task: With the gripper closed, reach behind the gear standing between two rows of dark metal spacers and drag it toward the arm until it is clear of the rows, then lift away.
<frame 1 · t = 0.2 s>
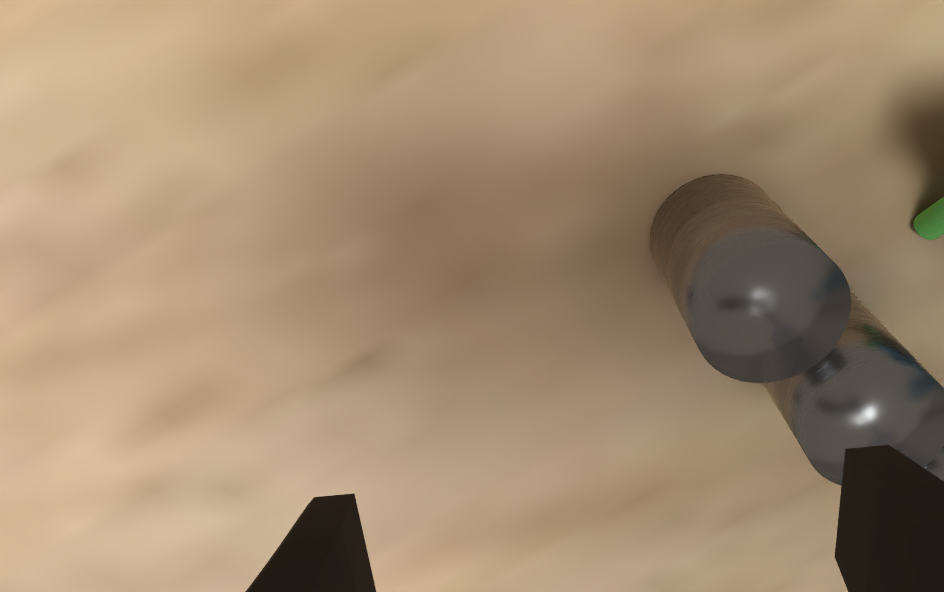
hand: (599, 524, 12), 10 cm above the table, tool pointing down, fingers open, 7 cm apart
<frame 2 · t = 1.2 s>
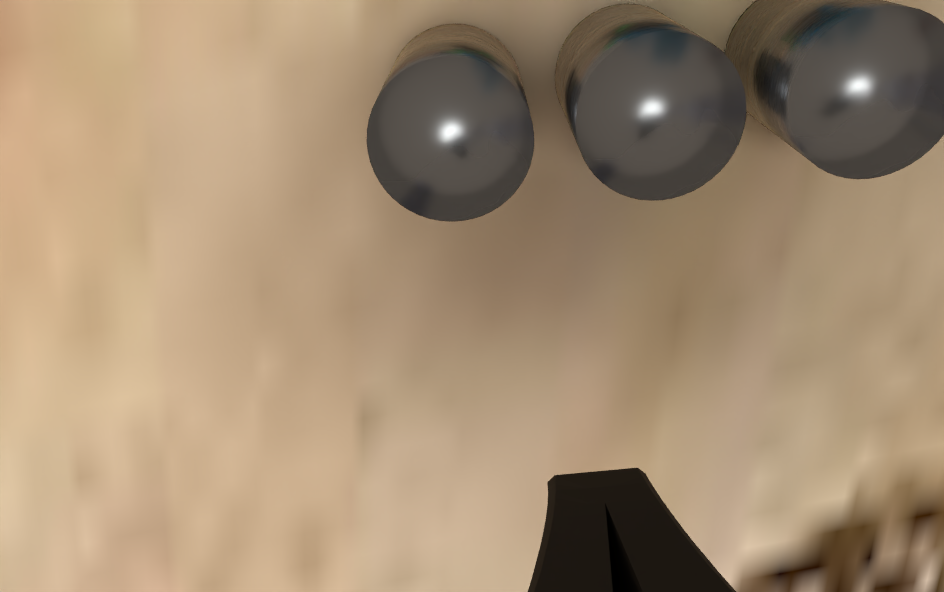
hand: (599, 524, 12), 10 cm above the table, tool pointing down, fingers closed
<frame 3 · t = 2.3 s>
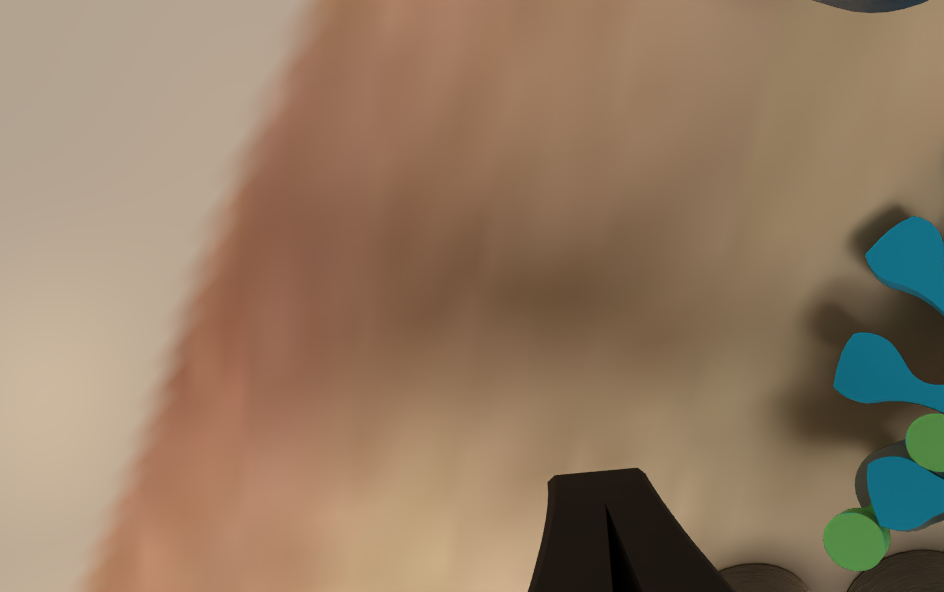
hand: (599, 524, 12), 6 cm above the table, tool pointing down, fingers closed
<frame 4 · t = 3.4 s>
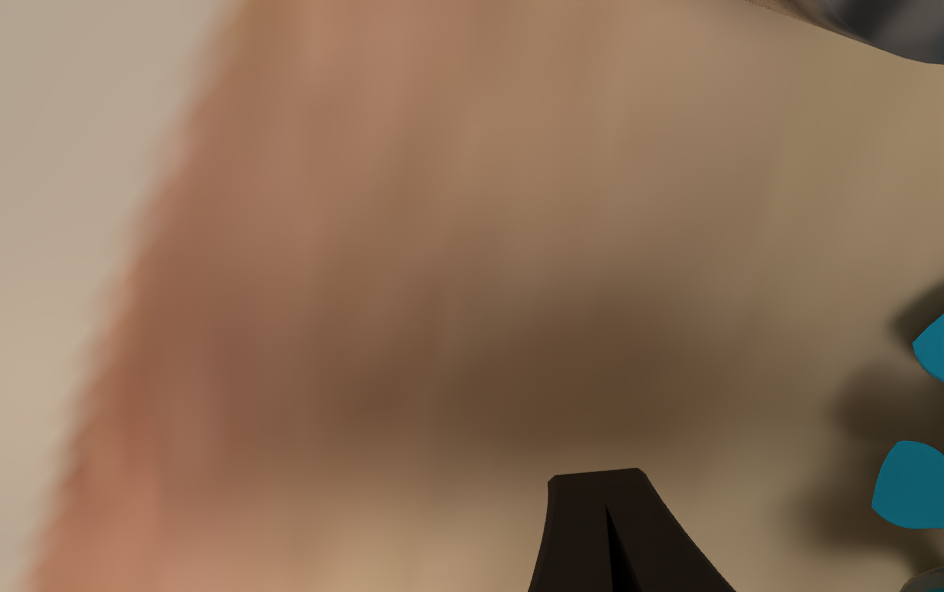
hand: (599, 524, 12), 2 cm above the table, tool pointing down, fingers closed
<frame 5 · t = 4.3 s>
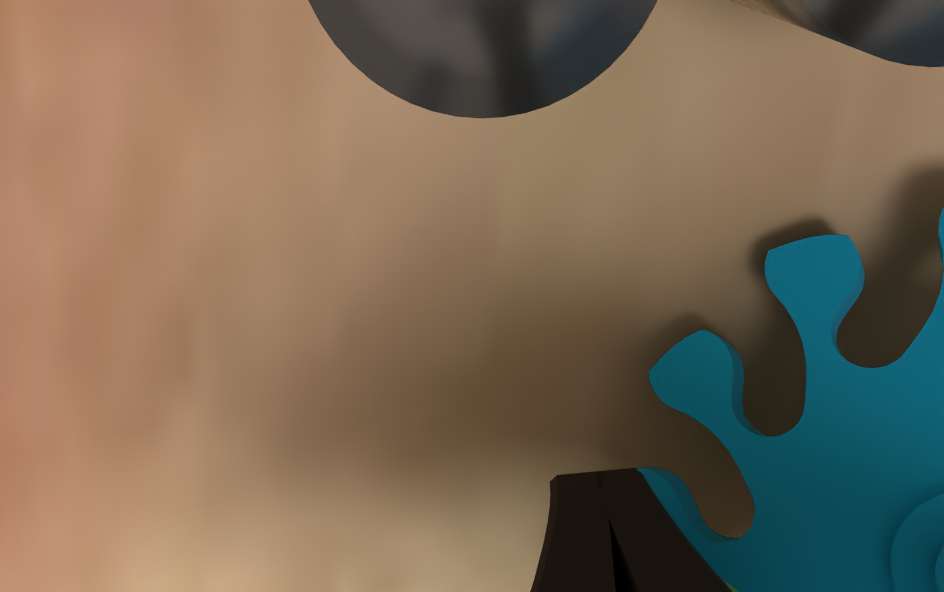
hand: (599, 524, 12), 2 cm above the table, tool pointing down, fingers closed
spacer field: (763, 413, 14), on the table
gear: (826, 417, 15), on the table, touching gripper
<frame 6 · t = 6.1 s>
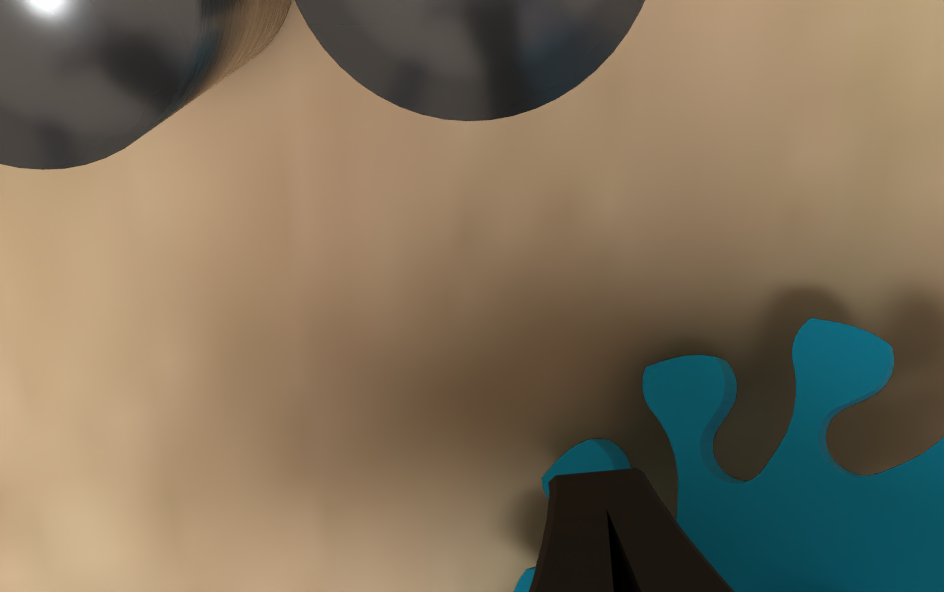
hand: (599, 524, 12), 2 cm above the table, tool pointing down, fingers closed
spacer field: (301, 457, 15), on the table
gear: (723, 506, 15), on the table, touching gripper
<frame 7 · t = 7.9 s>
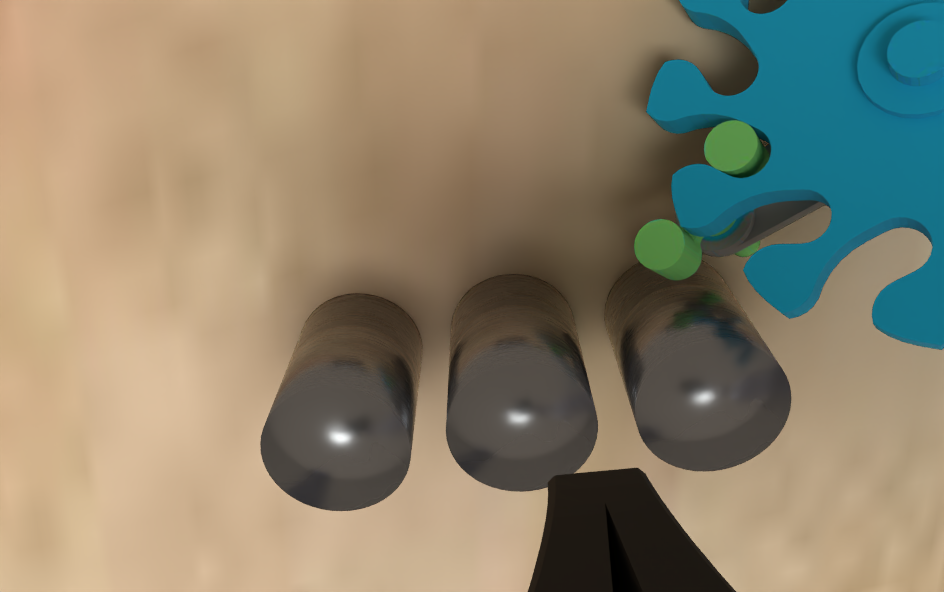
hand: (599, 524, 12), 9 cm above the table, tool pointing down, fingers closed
gear: (814, 55, 19), on the table
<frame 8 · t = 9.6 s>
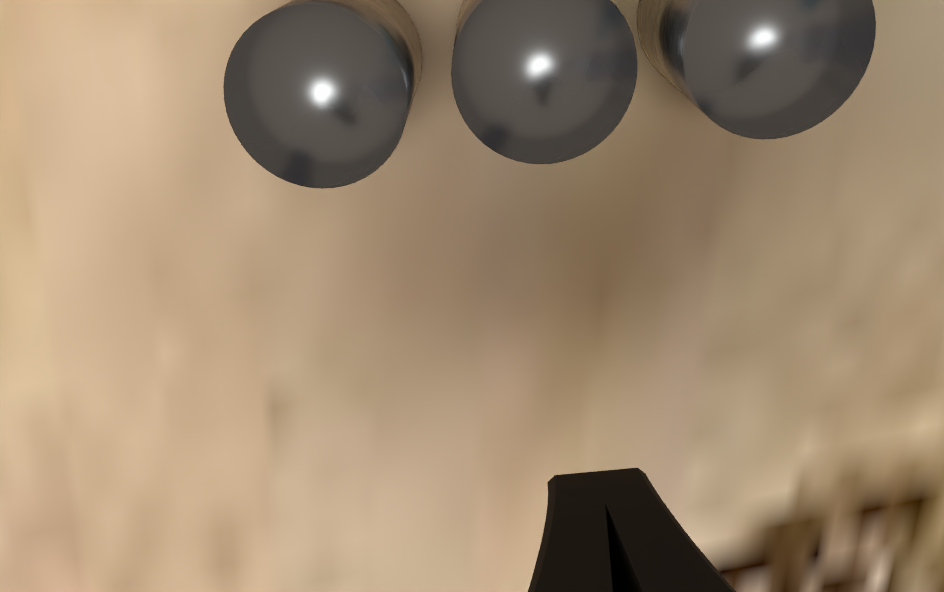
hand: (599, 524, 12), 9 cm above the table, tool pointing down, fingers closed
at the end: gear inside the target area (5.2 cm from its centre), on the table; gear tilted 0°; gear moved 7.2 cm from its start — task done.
